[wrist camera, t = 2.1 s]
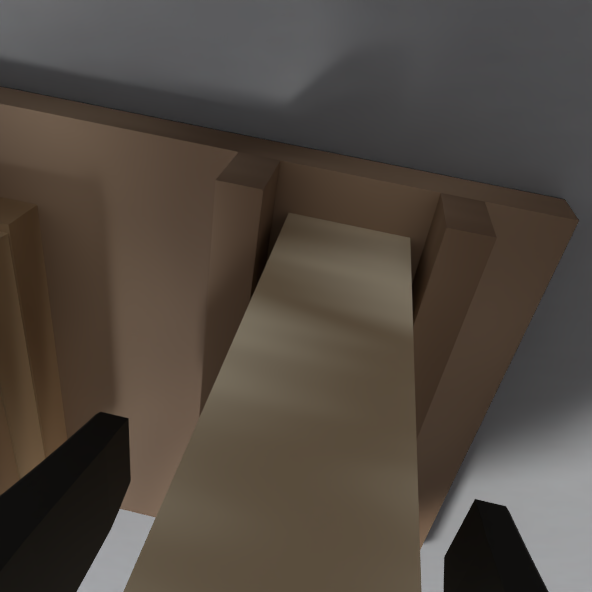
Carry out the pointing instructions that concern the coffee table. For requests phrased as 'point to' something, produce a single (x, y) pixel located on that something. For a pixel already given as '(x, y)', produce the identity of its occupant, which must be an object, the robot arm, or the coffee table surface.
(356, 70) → the coffee table surface
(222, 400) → the birch panel
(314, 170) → the walnut rack
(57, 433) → the offcut stack
